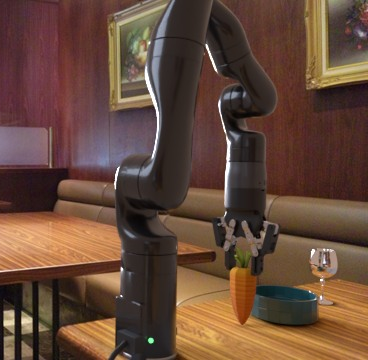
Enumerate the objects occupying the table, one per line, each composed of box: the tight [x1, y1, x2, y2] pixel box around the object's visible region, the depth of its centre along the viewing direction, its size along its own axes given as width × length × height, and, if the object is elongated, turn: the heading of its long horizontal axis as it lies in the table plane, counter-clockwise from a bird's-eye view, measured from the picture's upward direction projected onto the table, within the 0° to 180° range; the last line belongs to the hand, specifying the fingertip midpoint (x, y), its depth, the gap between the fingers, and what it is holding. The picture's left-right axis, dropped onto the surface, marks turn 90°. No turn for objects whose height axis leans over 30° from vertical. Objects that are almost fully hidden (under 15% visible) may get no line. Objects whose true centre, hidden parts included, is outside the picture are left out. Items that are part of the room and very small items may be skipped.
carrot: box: [229, 247, 258, 326], centre depth 96 cm, size 5×5×15 cm
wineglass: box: [308, 247, 339, 306], centre depth 113 cm, size 6×6×12 cm
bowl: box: [250, 284, 320, 326], centre depth 103 cm, size 13×13×5 cm
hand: (243, 272), depth 96 cm, fingers closed on carrot, 5 cm apart
